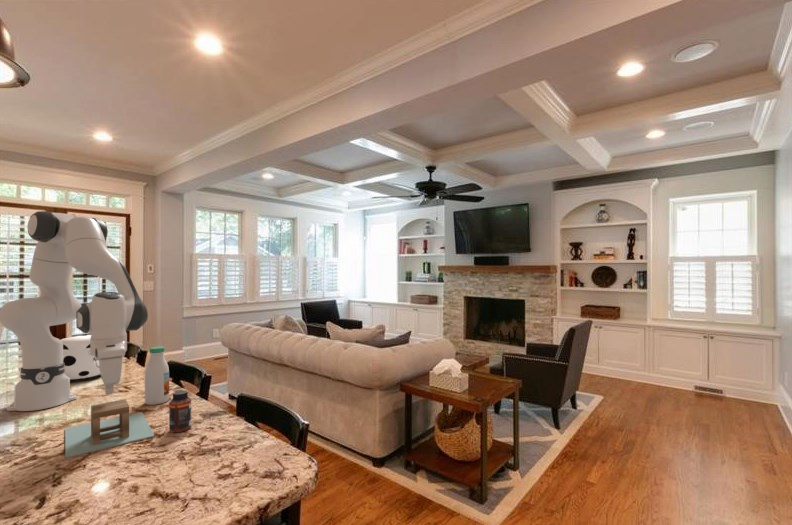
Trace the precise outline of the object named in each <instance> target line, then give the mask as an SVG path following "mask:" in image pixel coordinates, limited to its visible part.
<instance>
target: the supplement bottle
mask: <svg viewBox="0 0 792 525" xmlns="http://www.w3.org/2000/svg"><path fill="white" fill-rule="evenodd" d="M188 393H189V392H188V390H186V389H185V390H183V389H182V390H177V391H174V392H172V399H171V400H169V403H168V404H169V405H168V409H169V410H168V411H169V412H168V413H169V414H168V416H169V417H168V418H169V419H168V421H169V422H168V423H169V424H168V427H169V431H170V432H171V433H182V432H185V431H188V430H190V429H191V427H192V399H191V398H190V397H189V394H188Z"/></svg>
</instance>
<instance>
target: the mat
mask: <svg viewBox="0 0 792 525" xmlns="http://www.w3.org/2000/svg"><path fill="white" fill-rule="evenodd" d="M117 424H119V416H118V417H113V418H108V419H103V420H100V428H103V427H108V426H113V425H117ZM116 432H120V430H119V429H115V430H110V431H106V432H101V433H100V436H103V435H107V434H112V433H116ZM154 437H156V436H155V433H154V431H153V430H152V428H151V426H150V424H149V423H148V421H147V419H146V417H145V415H144V413H143V412H136V413H133V414H129V437H127V438H122V436H119V437H115V438H110V439H106V440H102V441H100V444H97V445H93V444H92V437H91V422H88V423H84V424H79V425H73V426H69V427H65V429H64V438H65V439H64V445H65V447H64V448H65V449H64V450H65V454H64V456H65V459H69V458H73V457H77V456H81V455H86V454H89V453H90V454H91V453H94V452H98V451H101V450H105V449H110V448H114V447H119V446H121V445H126V444H130V443H135V442H138V441H144V440H146V439H150V438H151V439H152V438H154Z"/></svg>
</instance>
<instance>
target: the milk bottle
mask: <svg viewBox="0 0 792 525" xmlns="http://www.w3.org/2000/svg"><path fill="white" fill-rule="evenodd" d="M164 353H165V346H154V347H150V348H149V355H150V357H149V360H148V363H147V365H146V366H145V371H144V404H146V405H149V406H150V405H151V406H156V405H160V404H164V403H167V402H168V401H170V369H169V368H170V367H169V364H168V363H167V361H166V358H165V354H164Z"/></svg>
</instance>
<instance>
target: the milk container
mask: <svg viewBox="0 0 792 525" xmlns="http://www.w3.org/2000/svg"><path fill="white" fill-rule="evenodd" d="M91 335H92V334H89V335H78V336H70V337H66V338H64V337H63V338H62V339H60V340H61V341H62V343H63V362H64V363H65V372H64V374H65V375H66V376H68V377H69V378H70V382H79V381H86V380H90V379H93V378H97V377H101V374H100V371H99V361H98V360H96V357H95V356H93V355H91V354H90V338H91Z"/></svg>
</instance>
